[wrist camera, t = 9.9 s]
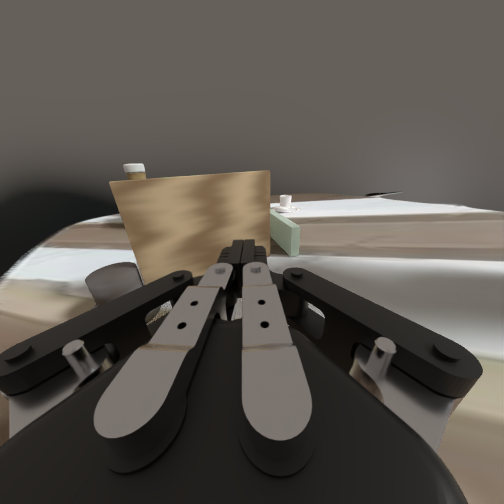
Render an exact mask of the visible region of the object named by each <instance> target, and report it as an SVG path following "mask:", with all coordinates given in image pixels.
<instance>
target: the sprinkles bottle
mask: <svg viewBox="0 0 504 504" xmlns="http://www.w3.org/2000/svg"><path fill="white" fill-rule="evenodd" d="M124 170H125V172H126V174H127V177H128V180H139V179H146V175H145V168H144V165H143V164H125V165H124Z"/></svg>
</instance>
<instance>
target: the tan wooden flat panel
mask: <svg viewBox="0 0 504 504" xmlns="http://www.w3.org/2000/svg"><path fill="white" fill-rule="evenodd" d="M109 184H110V186H111V189H112V192H113V195H114V198H115V201H116V203H117V206H118V209H119V212H120V215H121V218H122V221H123V223H124V226H125V229H126V232H127V235H128V238H129V240H130V243H131V246H132V249H133V252H134V255H135V257H136V260H137V263H138V266H139V269H140V272H141V274H142V277H143V280H144V283H145V285H146V284H148V283H151V282H153V281H155V280H157V279H159V278H161V277H164V276H166V275H168V274H170V273H172V272H175V271H179V270H188V271H190V272H191V273H192V275H193V277H197V276H202V275H204V274H205V273H206V271H207V269H208V268H209V267H210V266H212V265H214V264H216V263H217V261H218V258H219V256H220V253H221V251H222V249H224V248H225V247H231V246H232V243H233V240H245V239H255V246H263V247H264V248H266V257H269V256H270V171H251V172H238V173H224V174H209V175H195V176H181V177H167V178H153V179H139V180H127V181H113V182H109ZM85 282H86V284H87V286H88V288H89V290H90V292H91V294H92V296H93V298H94V300H95V302H96V304H97V306H98V307H99V306H101V305H103V304H105V303H107V302H109V301H112V300H114V299H116V298H118V297H120V296H122V295H125V294H127V293H129V292H131V291H133V290H135V289H138V288H140V287H142V286H143V283H142V280H141V277H140V274H139V272H138V269H137V266H136V264H134V263H131V262H122V263H116V264H111V265H108V266H105V267H102V268H100V269H98V270H96V271H94V272H92V273H91V274H90V275H88V276H87V277H86V279H85Z"/></svg>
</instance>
